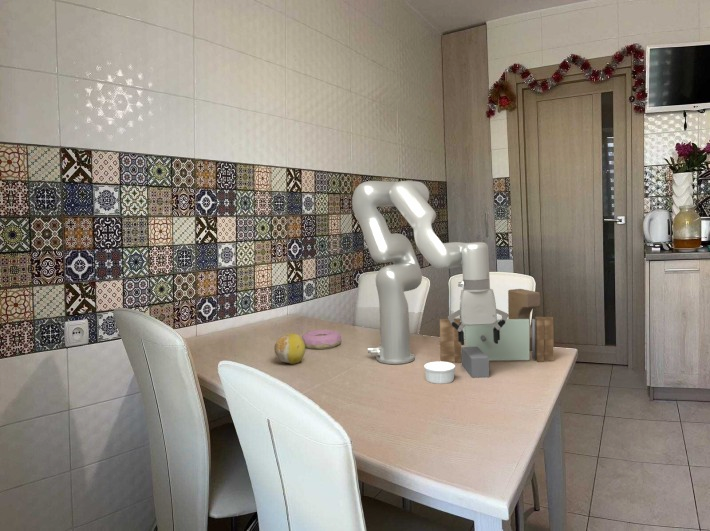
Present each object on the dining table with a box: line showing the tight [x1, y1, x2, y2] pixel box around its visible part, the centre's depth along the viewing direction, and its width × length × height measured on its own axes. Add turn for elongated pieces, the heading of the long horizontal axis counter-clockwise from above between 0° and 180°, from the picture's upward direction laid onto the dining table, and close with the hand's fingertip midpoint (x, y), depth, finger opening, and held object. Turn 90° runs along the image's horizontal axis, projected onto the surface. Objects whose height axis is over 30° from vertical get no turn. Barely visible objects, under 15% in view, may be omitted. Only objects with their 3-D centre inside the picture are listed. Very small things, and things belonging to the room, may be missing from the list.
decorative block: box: [507, 288, 541, 352], centre depth 182 cm, size 11×6×20 cm, turn 17°
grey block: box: [461, 346, 490, 379], centre depth 157 cm, size 5×13×6 cm, turn 1°
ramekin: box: [423, 360, 456, 385], centre depth 150 cm, size 9×9×4 cm
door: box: [464, 318, 536, 362], centre depth 165 cm, size 22×3×13 cm, turn 85°
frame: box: [439, 316, 554, 364], centre depth 166 cm, size 35×2×14 cm, turn 85°
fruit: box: [274, 333, 306, 365], centre depth 173 cm, size 10×11×10 cm
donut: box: [300, 329, 343, 350], centre depth 196 cm, size 16×15×5 cm
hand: (479, 343), depth 152 cm, fingers open, 9 cm apart
